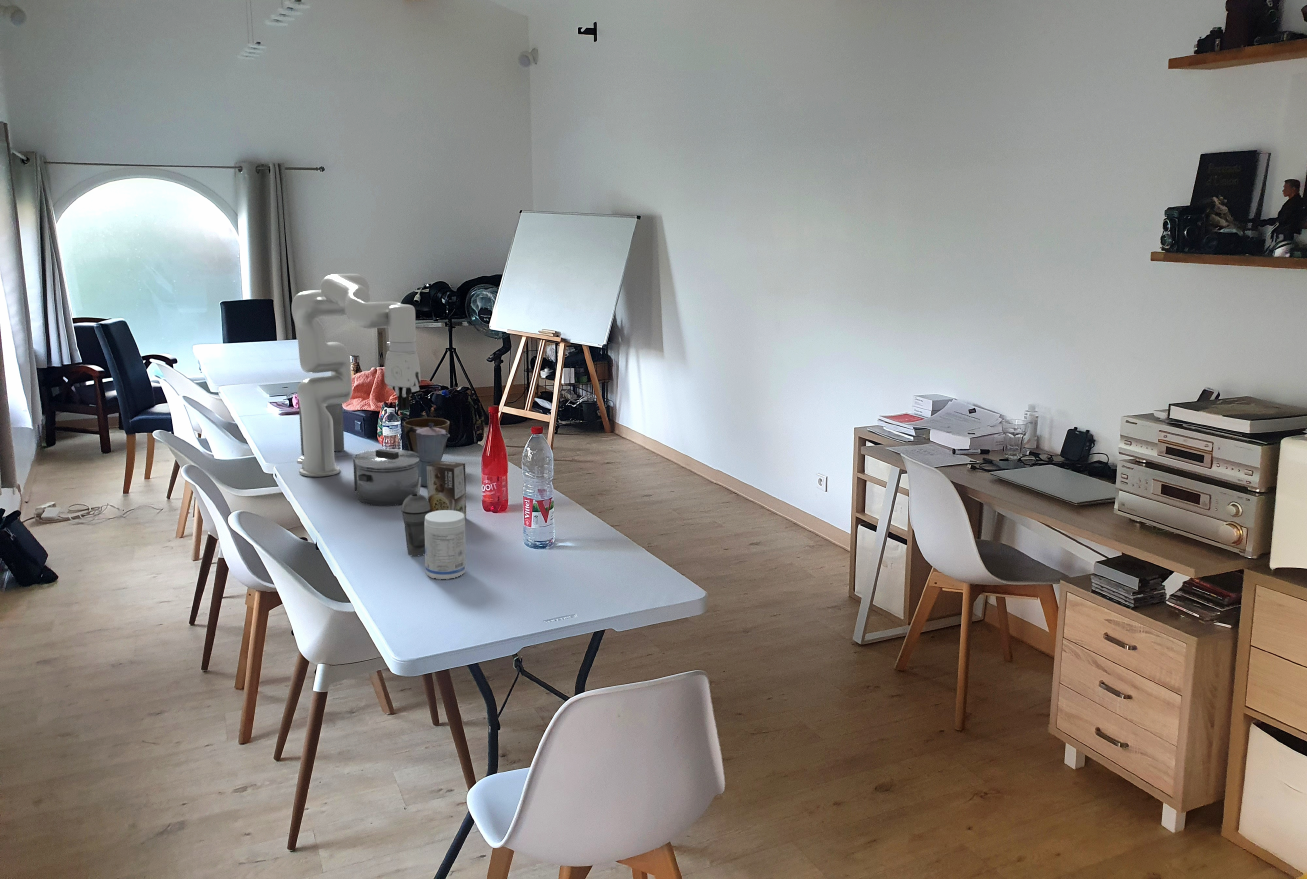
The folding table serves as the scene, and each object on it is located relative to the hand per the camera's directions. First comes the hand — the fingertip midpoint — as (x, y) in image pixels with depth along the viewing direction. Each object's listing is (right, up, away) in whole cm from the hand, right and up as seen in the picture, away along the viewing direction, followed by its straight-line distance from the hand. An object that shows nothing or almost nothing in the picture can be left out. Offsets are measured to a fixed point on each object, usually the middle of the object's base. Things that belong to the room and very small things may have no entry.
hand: (403, 409), depth 282 cm
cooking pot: (-7, -27, +9) cm, 29 cm away
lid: (-7, -15, +7) cm, 18 cm away
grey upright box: (-45, -13, +62) cm, 78 cm away
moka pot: (+1, -23, +26) cm, 35 cm away
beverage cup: (+13, -38, -38) cm, 55 cm away
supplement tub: (+23, -41, -51) cm, 70 cm away
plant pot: (-3, -19, +44) cm, 48 cm away
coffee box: (+15, -32, -10) cm, 36 cm away
